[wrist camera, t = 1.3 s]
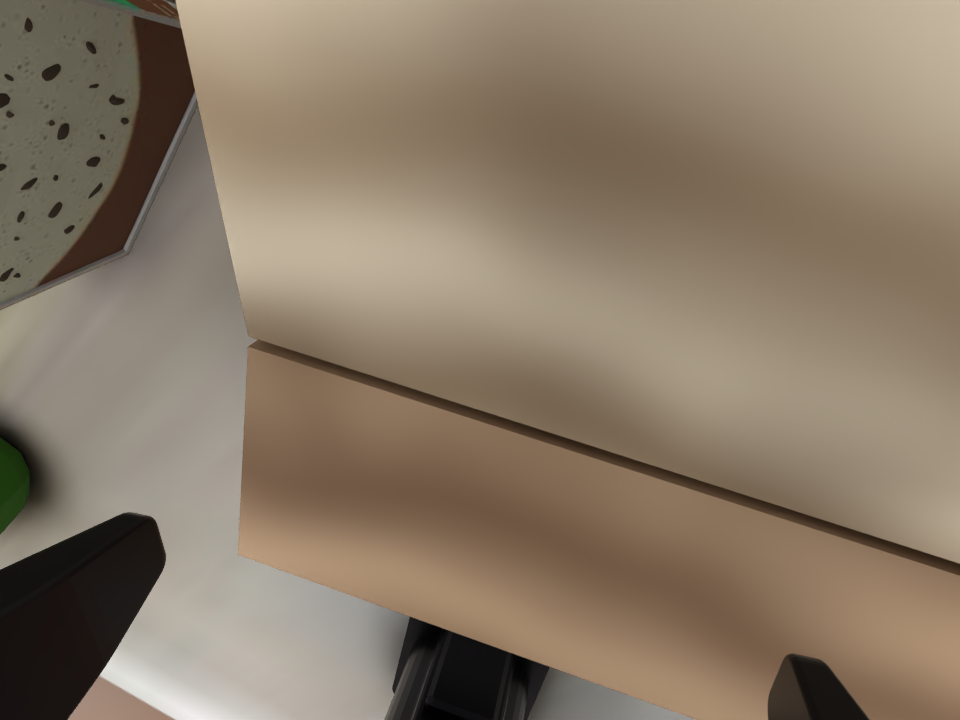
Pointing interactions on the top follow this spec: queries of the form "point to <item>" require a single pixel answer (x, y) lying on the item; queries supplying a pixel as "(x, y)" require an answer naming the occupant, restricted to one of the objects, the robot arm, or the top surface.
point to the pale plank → (619, 225)
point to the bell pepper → (12, 483)
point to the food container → (84, 132)
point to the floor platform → (581, 551)
